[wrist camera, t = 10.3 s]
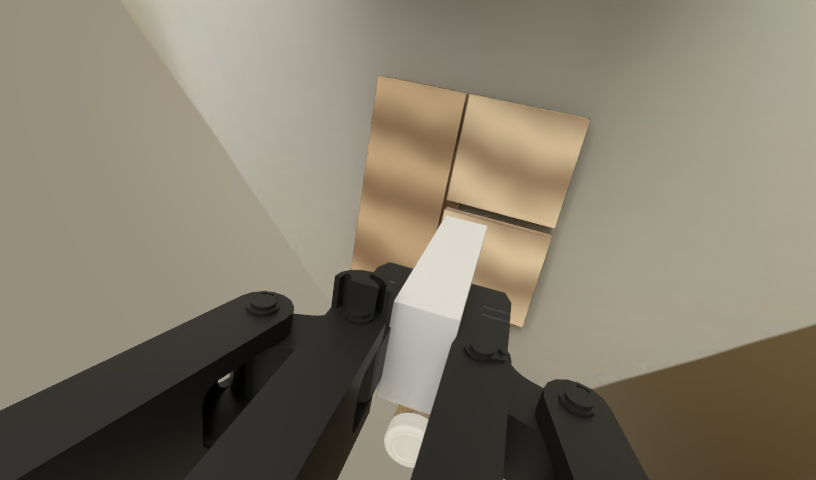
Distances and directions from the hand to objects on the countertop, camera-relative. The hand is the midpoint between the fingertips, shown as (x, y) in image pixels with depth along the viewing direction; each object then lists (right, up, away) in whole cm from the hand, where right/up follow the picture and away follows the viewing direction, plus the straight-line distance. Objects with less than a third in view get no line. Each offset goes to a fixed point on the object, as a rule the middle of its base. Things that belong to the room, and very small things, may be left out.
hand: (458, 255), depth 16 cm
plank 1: (+8, +8, +23) cm, 26 cm away
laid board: (-2, +6, +28) cm, 28 cm away
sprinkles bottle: (+2, -12, +34) cm, 36 cm away
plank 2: (+6, -2, +27) cm, 28 cm away
